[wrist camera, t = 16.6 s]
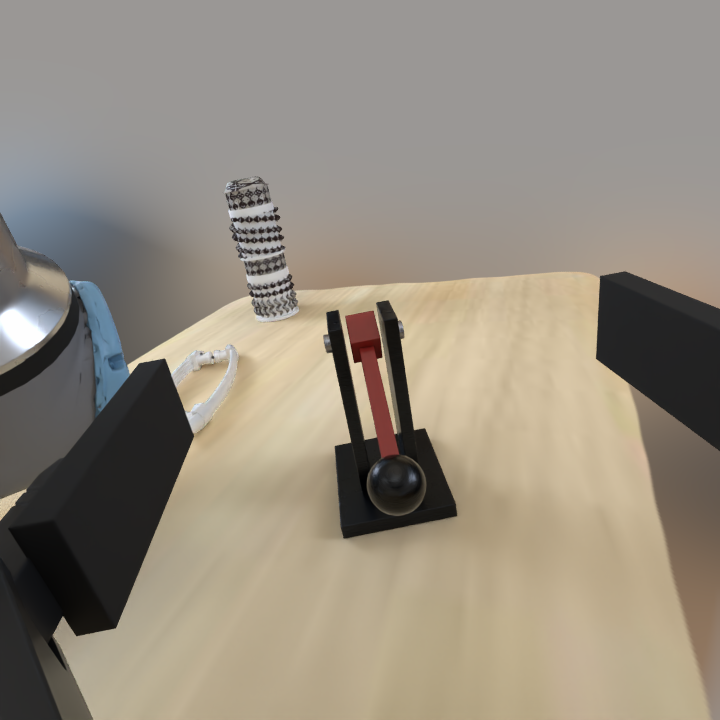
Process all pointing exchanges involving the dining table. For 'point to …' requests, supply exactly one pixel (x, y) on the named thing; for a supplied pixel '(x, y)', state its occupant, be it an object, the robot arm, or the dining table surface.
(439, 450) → the dining table surface
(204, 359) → the door handle
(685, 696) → the dining table surface
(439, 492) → the bracket
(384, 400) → the lever
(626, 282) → the robot arm
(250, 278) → the decorative candle
